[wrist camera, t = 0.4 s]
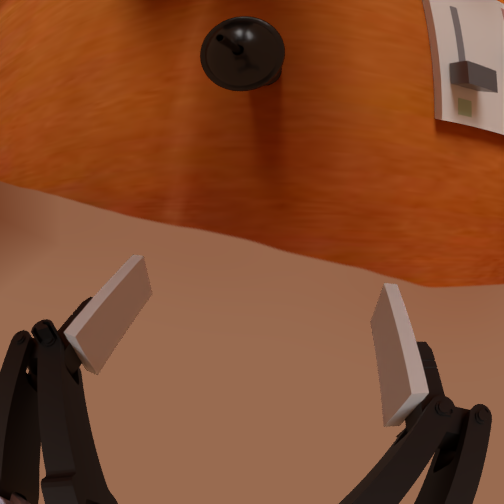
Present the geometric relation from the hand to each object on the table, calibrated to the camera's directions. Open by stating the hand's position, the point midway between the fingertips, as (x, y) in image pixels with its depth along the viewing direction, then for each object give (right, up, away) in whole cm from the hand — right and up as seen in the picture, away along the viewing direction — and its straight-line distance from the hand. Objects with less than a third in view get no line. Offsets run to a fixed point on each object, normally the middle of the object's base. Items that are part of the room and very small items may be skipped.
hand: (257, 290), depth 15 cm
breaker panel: (+34, +31, +7) cm, 46 cm away
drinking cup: (+1, +26, +17) cm, 31 cm away
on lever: (+28, +25, +8) cm, 39 cm away
